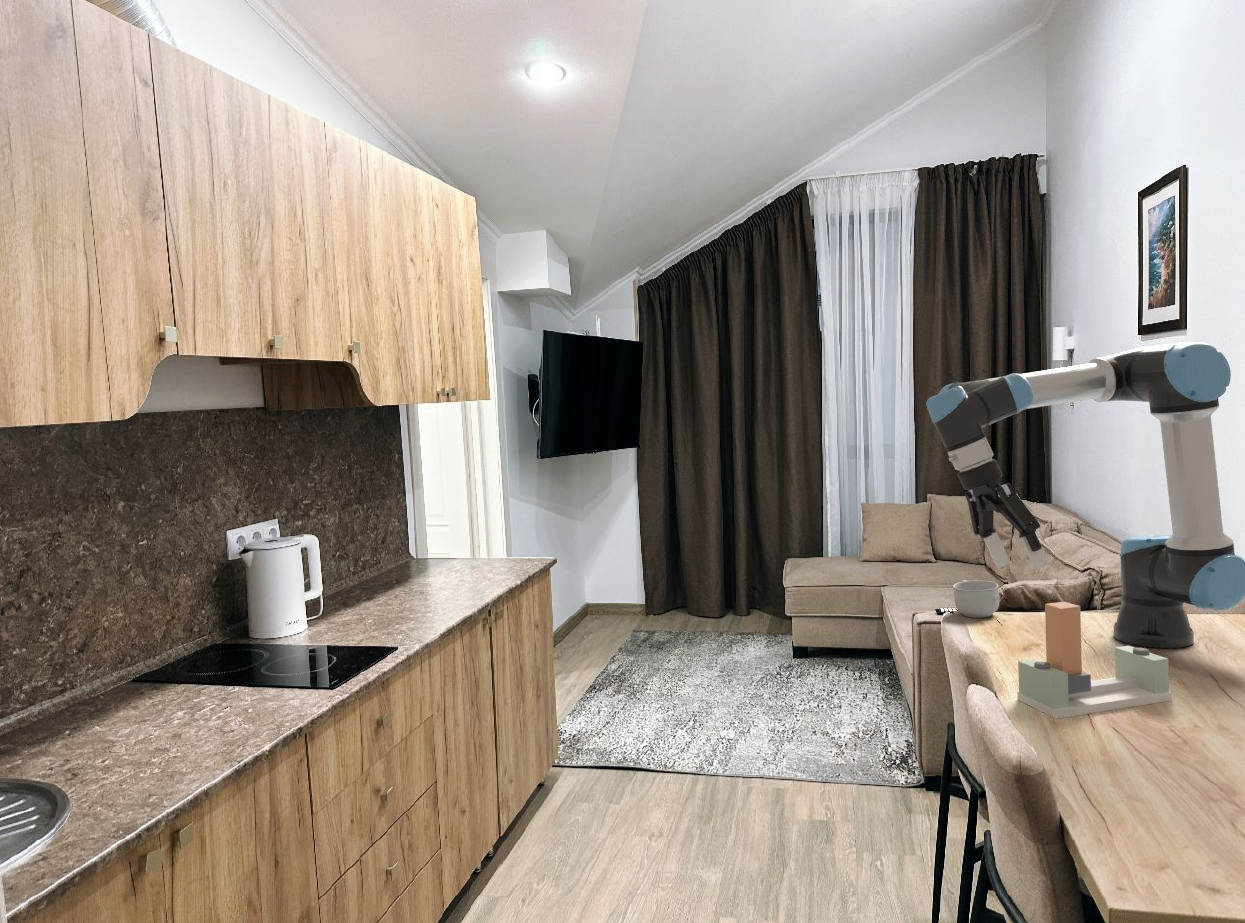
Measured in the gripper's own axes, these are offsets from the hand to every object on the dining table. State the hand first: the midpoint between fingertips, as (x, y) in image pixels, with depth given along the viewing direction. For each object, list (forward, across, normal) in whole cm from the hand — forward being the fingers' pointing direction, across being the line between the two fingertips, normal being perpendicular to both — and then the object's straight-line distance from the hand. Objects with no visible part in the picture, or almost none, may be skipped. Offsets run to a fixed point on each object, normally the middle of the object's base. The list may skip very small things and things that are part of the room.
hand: (1022, 566), depth 163 cm
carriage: (+21, +7, -6) cm, 23 cm away
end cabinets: (+24, +6, -1) cm, 25 cm away
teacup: (+19, -56, +12) cm, 61 cm away
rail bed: (+26, +6, -1) cm, 26 cm away
